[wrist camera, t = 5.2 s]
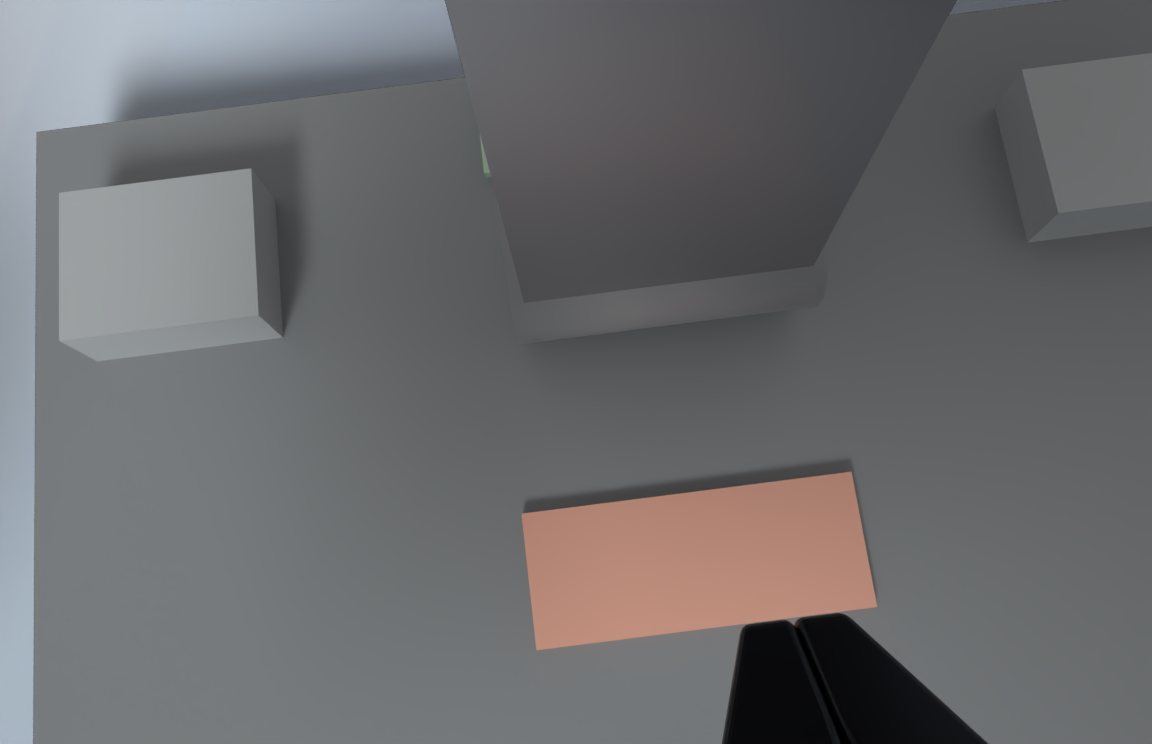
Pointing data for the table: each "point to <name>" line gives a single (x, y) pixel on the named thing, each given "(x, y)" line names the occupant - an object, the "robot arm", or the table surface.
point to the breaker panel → (592, 427)
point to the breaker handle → (678, 147)
